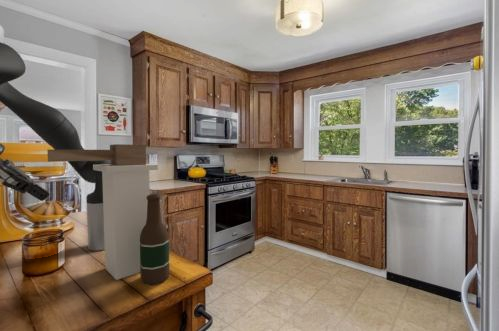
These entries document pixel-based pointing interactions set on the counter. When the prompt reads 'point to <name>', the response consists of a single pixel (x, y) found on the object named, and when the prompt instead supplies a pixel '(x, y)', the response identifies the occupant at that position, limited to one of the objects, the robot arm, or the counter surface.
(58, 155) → the mallet
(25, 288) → the counter surface
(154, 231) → the beer bottle
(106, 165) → the stand
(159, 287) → the counter surface
